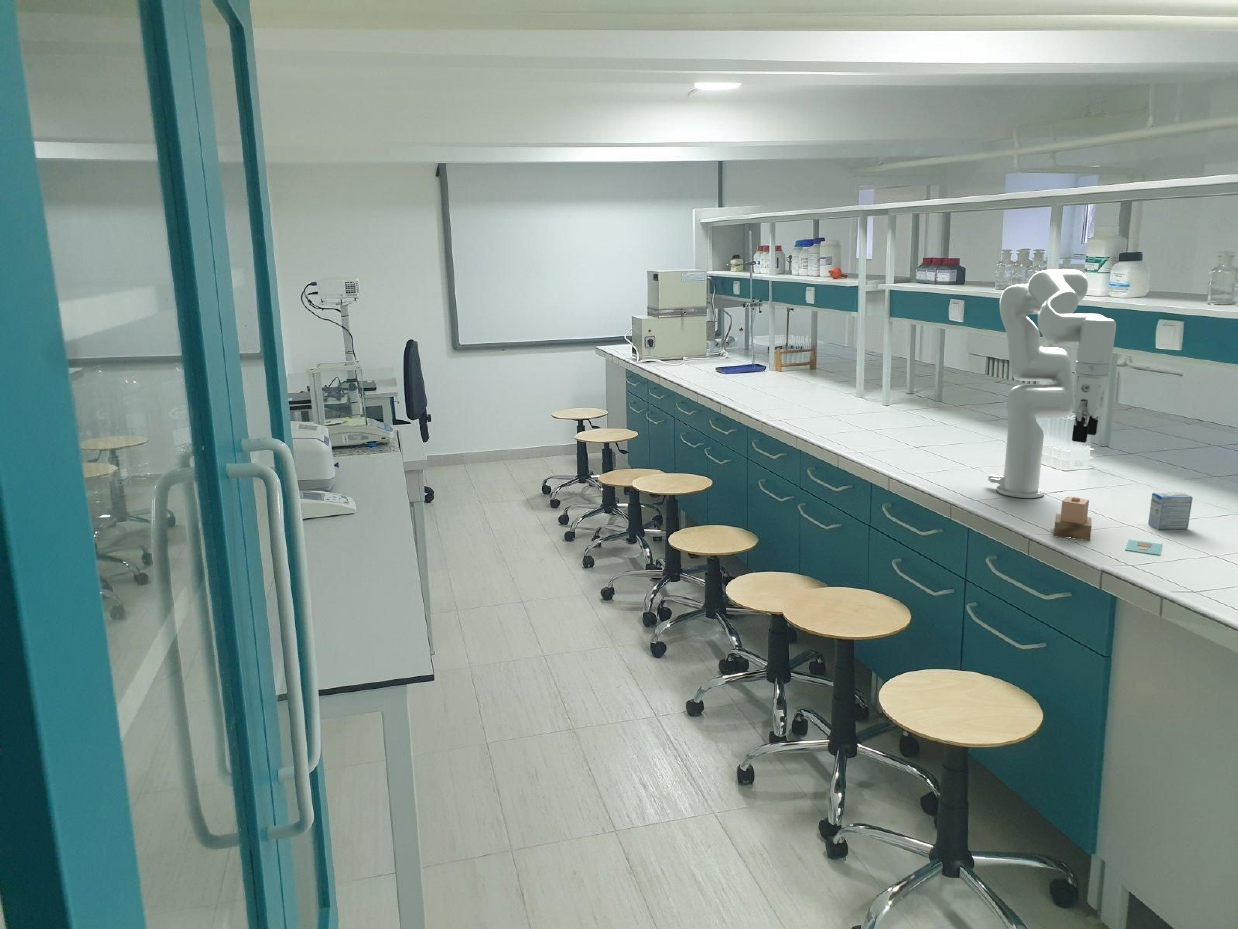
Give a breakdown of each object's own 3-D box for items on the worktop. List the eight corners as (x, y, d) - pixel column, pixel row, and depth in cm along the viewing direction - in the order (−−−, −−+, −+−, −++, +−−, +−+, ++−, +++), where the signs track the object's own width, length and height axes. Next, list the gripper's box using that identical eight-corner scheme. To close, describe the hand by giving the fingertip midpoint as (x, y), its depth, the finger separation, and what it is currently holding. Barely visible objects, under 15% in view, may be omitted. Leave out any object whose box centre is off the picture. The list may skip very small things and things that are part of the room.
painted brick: (1060, 520, 226) (1062, 498, 225) (1065, 515, 230) (1067, 494, 229) (1082, 524, 223) (1084, 502, 222) (1086, 519, 227) (1089, 497, 226)
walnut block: (1053, 537, 226) (1055, 522, 225) (1054, 528, 233) (1056, 513, 232) (1089, 542, 222) (1091, 526, 222) (1089, 532, 229) (1091, 517, 229)
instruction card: (1125, 550, 215) (1125, 549, 215) (1128, 540, 222) (1128, 538, 222) (1159, 555, 211) (1159, 554, 211) (1161, 544, 219) (1162, 543, 219)
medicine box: (1177, 524, 235) (1182, 491, 233) (1188, 529, 230) (1193, 496, 228) (1147, 524, 235) (1151, 492, 232) (1157, 530, 230) (1162, 496, 228)
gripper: (1101, 375, 213) (1092, 447, 217) (1117, 366, 226) (1108, 433, 230) (1066, 372, 217) (1058, 442, 222) (1084, 363, 230) (1076, 429, 235)
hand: (1084, 437), depth 226 cm, fingers open, 9 cm apart
